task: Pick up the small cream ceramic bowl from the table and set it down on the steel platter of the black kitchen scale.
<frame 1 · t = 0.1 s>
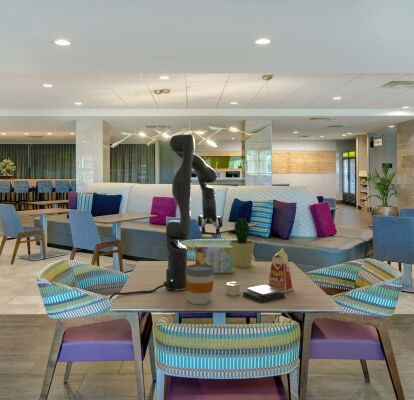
hand: (210, 234, 228), 22 cm above the table, tool pointing down, fingers open, 8 cm apart
milk carton: (280, 290, 196), on the table
reusable coffee cup: (199, 301, 177), on the table
platter: (263, 290, 183), point 3 cm above the table, slide at 0.0 cm
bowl: (232, 294, 188), on the table
scale: (263, 297, 183), on the table
potted cactus: (241, 265, 251), on the table
snack box: (214, 272, 232), on the table
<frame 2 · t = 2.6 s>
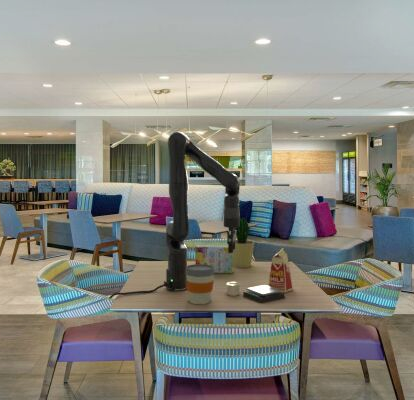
hand: (231, 251, 191), 19 cm above the table, tool pointing down, fingers open, 8 cm apart
nothing on the table moved.
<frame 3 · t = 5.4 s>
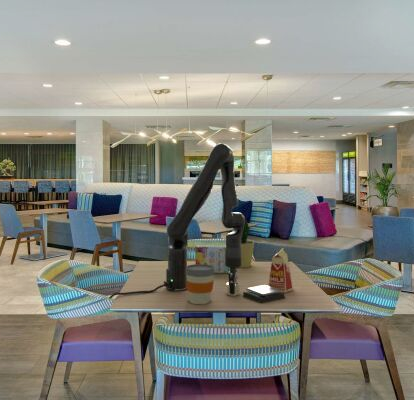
hand: (233, 291, 188), 1 cm above the table, tool pointing down, fingers closed on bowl, 6 cm apart
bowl: (233, 294, 188), on the table, touching gripper
everything else where it was.
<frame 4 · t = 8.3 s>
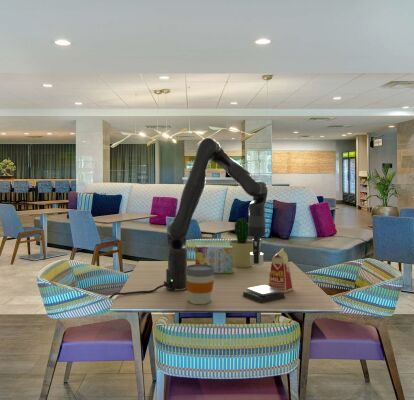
hand: (256, 261, 184), 16 cm above the table, tool pointing down, fingers closed on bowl, 6 cm apart
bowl: (256, 264, 184), point 15 cm above the table, touching gripper
everything else where it was.
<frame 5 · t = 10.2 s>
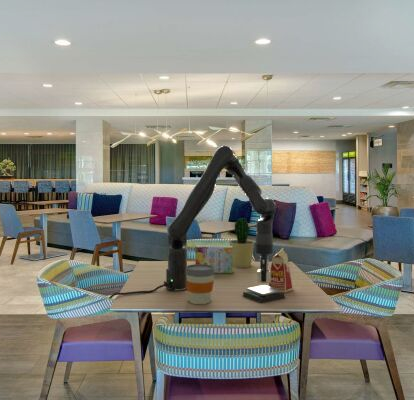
hand: (264, 279, 183), 8 cm above the table, tool pointing down, fingers closed on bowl, 6 cm apart
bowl: (264, 281, 183), point 7 cm above the table, touching gripper
everything else where it was.
when the fingers open (5 cm above the table, at t = 11.6 s): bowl stays where it is, resting on platter.
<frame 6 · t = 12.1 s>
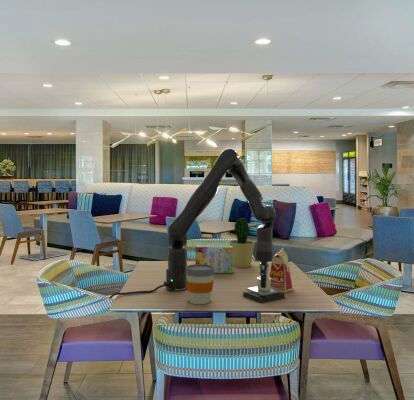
hand: (263, 285, 183), 5 cm above the table, tool pointing down, fingers open, 8 cm apart
platter: (263, 290, 183), point 3 cm above the table, slide at 0.0 cm, touching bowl
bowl: (263, 289, 183), point 4 cm above the table, touching platter
everything else where it was.
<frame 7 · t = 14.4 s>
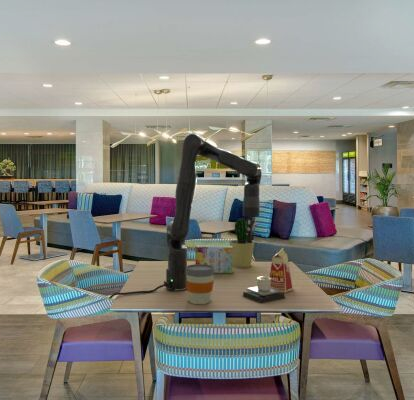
hand: (250, 241, 186), 25 cm above the table, tool pointing down, fingers open, 8 cm apart
nothing on the table moved.
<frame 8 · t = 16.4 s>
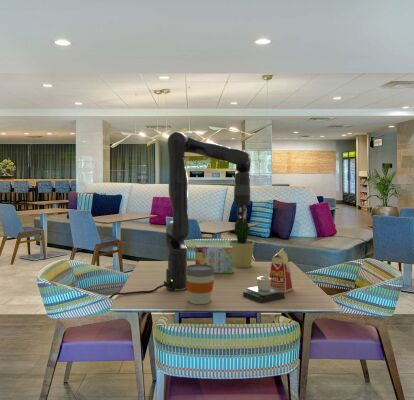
hand: (241, 228, 189), 30 cm above the table, tool pointing down, fingers open, 8 cm apart
nothing on the table moved.
at the end: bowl inside the target area on the scale (0.1 cm from its centre), point 3.6 cm above the scale's base; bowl tilted 0°; the gripper is holding nothing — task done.
